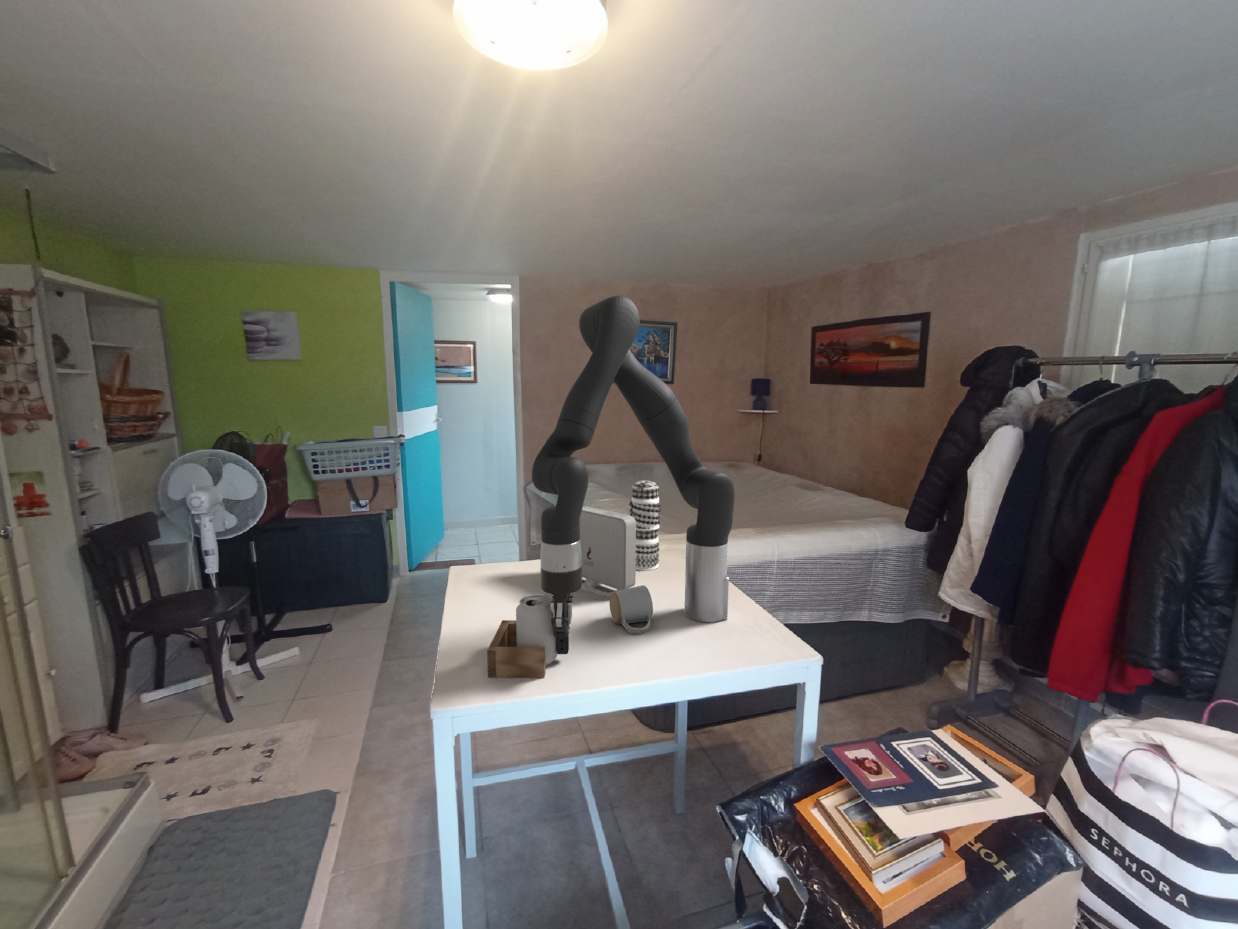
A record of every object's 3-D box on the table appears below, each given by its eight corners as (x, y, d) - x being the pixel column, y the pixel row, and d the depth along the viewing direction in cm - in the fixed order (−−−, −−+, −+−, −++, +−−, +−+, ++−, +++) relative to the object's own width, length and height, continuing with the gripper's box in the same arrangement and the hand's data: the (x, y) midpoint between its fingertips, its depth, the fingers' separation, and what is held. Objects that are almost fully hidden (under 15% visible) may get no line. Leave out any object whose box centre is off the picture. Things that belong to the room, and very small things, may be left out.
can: (517, 652, 102) (516, 592, 100) (556, 649, 103) (555, 590, 101) (516, 672, 94) (515, 608, 93) (558, 668, 96) (557, 606, 94)
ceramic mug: (607, 616, 118) (607, 584, 117) (641, 612, 121) (641, 580, 120) (623, 638, 108) (623, 603, 107) (659, 632, 111) (660, 598, 110)
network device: (550, 576, 144) (549, 505, 141) (573, 569, 150) (573, 500, 147) (619, 601, 127) (619, 521, 124) (642, 592, 133) (643, 515, 130)
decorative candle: (634, 572, 148) (635, 485, 144) (624, 562, 157) (625, 479, 153) (664, 569, 150) (666, 483, 147) (653, 559, 159) (655, 478, 156)
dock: (552, 644, 105) (552, 620, 104) (544, 677, 93) (544, 651, 92) (502, 644, 105) (502, 620, 104) (487, 677, 92) (487, 650, 92)
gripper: (579, 576, 90) (580, 670, 92) (583, 552, 103) (584, 636, 105) (535, 576, 90) (537, 671, 92) (545, 552, 103) (547, 636, 105)
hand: (562, 652), depth 99 cm, fingers closed
